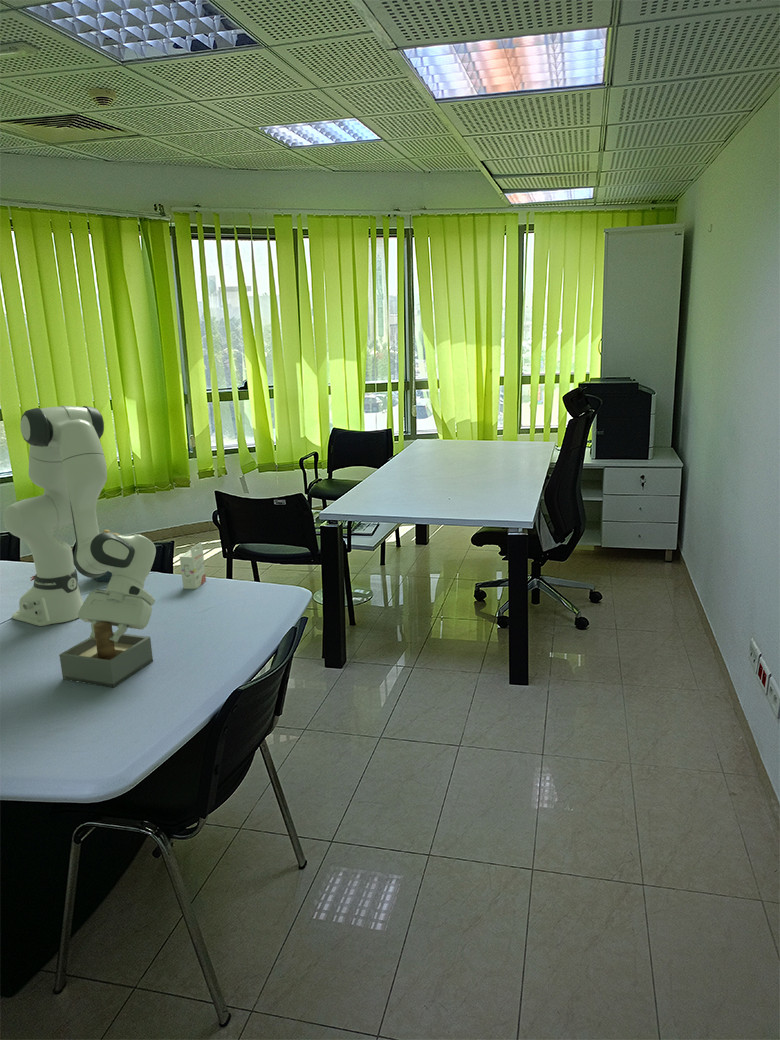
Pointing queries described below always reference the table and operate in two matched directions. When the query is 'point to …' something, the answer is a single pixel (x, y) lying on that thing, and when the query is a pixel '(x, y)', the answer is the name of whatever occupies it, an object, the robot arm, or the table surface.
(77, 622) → the table surface
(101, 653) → the peg
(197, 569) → the ink cartridge box
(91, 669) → the bore box
